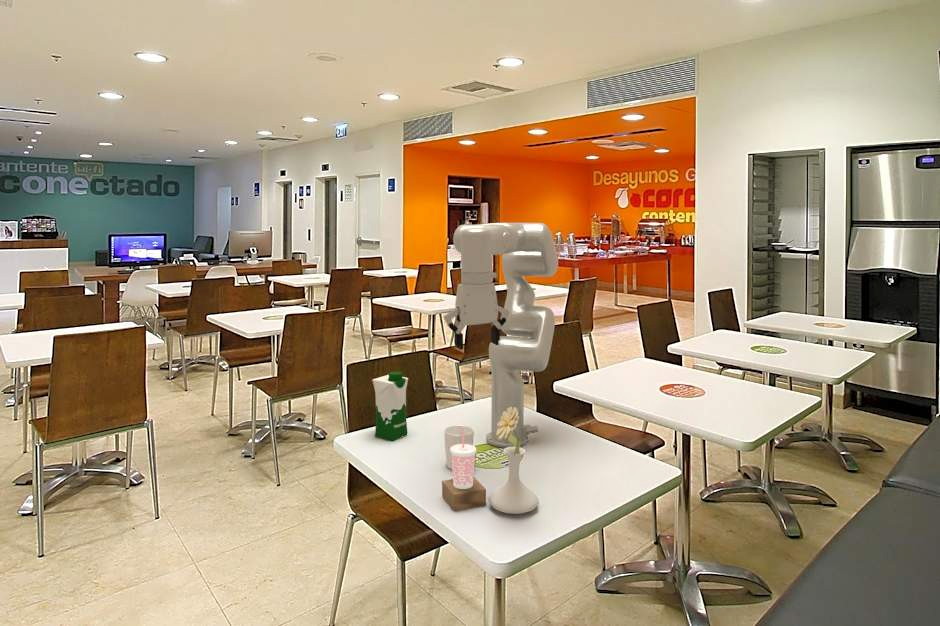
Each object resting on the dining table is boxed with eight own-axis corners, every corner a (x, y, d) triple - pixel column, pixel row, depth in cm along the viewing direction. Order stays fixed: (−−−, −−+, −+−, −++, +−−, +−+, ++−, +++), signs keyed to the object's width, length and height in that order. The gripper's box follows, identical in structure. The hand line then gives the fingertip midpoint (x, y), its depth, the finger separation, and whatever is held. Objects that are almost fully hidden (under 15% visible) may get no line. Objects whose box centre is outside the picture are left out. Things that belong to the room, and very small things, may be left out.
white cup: (452, 473, 165) (452, 437, 164) (439, 463, 172) (439, 427, 171) (478, 468, 169) (479, 432, 167) (465, 458, 176) (465, 423, 174)
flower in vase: (490, 495, 153) (491, 395, 149) (537, 497, 152) (540, 396, 148) (486, 521, 140) (487, 412, 136) (538, 523, 139) (541, 414, 135)
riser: (473, 491, 155) (473, 475, 154) (485, 505, 148) (486, 489, 147) (442, 496, 152) (442, 480, 151) (453, 511, 145) (453, 494, 144)
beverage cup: (446, 488, 148) (446, 430, 145) (455, 477, 153) (455, 422, 151) (471, 492, 146) (471, 433, 143) (479, 481, 151) (479, 425, 149)
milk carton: (392, 443, 187) (391, 377, 184) (370, 436, 192) (368, 372, 189) (411, 434, 194) (411, 371, 191) (390, 428, 199) (388, 366, 196)
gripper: (502, 274, 162) (502, 339, 166) (438, 279, 156) (439, 346, 159) (515, 278, 155) (515, 345, 159) (449, 283, 149) (450, 353, 152)
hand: (477, 346), depth 159 cm, fingers open, 9 cm apart
